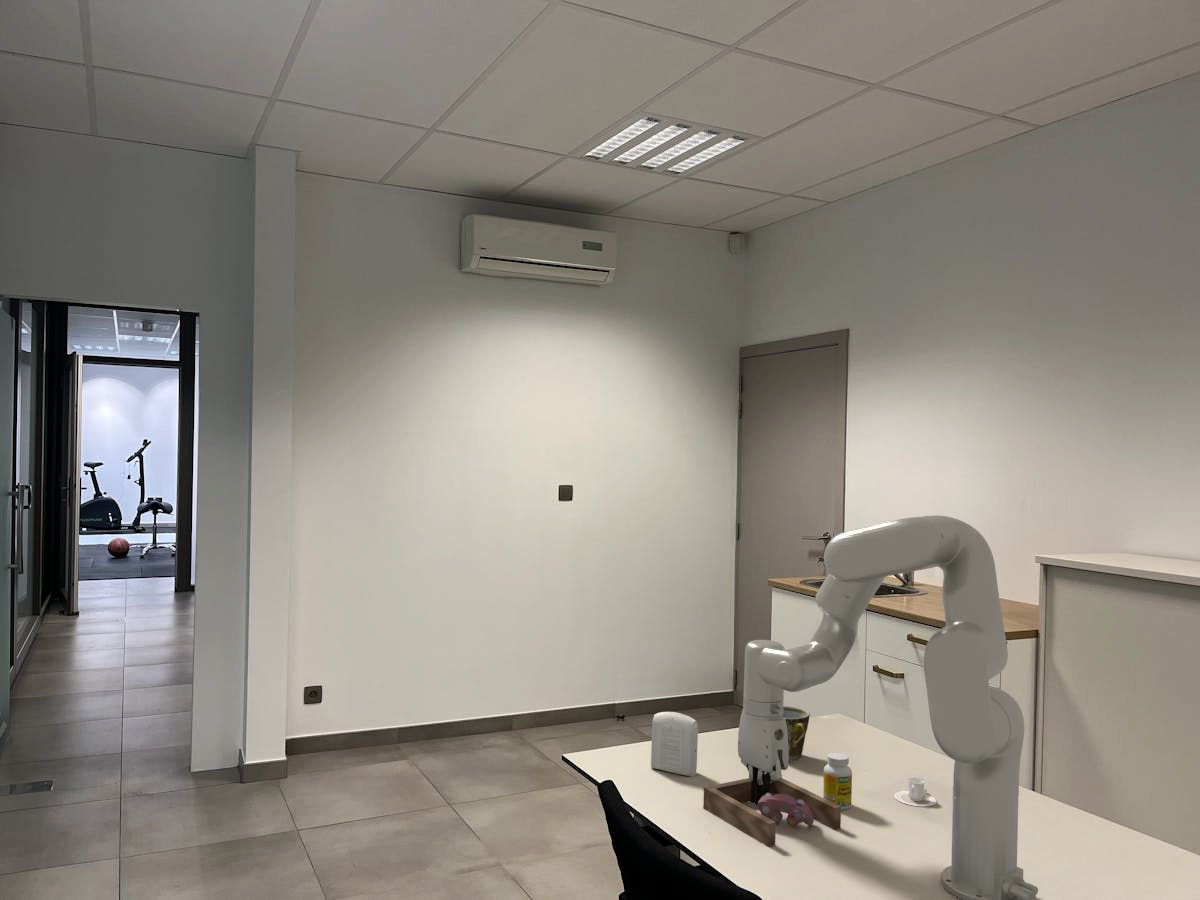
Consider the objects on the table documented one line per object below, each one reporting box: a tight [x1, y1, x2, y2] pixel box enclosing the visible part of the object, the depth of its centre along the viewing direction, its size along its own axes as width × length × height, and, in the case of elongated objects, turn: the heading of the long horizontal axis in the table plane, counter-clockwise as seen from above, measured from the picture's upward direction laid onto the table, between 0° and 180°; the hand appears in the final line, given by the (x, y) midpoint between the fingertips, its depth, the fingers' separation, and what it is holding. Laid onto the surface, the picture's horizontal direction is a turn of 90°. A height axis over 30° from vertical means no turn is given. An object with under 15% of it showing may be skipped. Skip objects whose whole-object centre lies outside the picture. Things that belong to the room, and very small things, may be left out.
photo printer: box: [650, 711, 699, 777], centre depth 193 cm, size 10×4×12 cm, turn 60°
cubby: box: [702, 777, 842, 848], centre depth 168 cm, size 19×17×4 cm
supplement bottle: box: [822, 752, 853, 811], centre depth 175 cm, size 5×5×10 cm
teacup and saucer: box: [893, 777, 937, 808], centre depth 180 cm, size 9×8×4 cm
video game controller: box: [757, 793, 815, 828], centre depth 165 cm, size 10×5×7 cm, turn 62°
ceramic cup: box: [783, 705, 811, 762], centre depth 202 cm, size 13×10×10 cm
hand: (759, 802), depth 171 cm, fingers closed
